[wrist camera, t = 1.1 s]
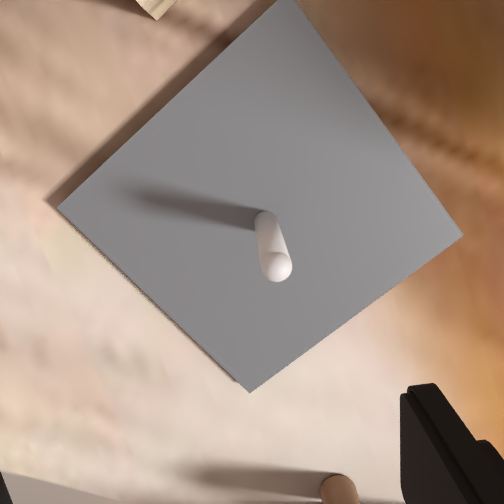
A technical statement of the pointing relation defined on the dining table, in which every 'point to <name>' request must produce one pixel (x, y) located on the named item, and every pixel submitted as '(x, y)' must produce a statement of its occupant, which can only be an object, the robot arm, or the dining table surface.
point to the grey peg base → (263, 201)
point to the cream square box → (156, 6)
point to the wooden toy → (339, 491)
